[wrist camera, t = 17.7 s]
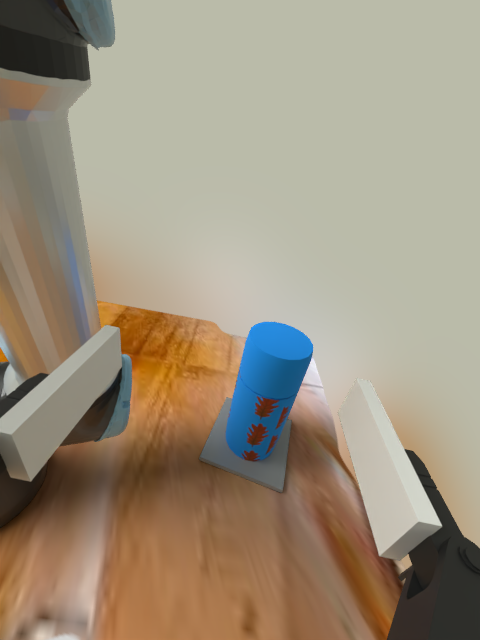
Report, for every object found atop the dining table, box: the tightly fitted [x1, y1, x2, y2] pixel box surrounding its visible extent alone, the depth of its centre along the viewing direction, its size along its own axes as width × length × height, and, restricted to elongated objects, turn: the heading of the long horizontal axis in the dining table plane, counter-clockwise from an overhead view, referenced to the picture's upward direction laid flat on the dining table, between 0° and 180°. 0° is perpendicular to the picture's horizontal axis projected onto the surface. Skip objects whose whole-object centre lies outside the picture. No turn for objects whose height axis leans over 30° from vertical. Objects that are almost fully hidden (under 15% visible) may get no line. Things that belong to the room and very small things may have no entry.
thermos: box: [226, 322, 313, 462], centre depth 47 cm, size 11×11×25 cm
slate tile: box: [199, 397, 292, 493], centre depth 53 cm, size 16×16×1 cm
